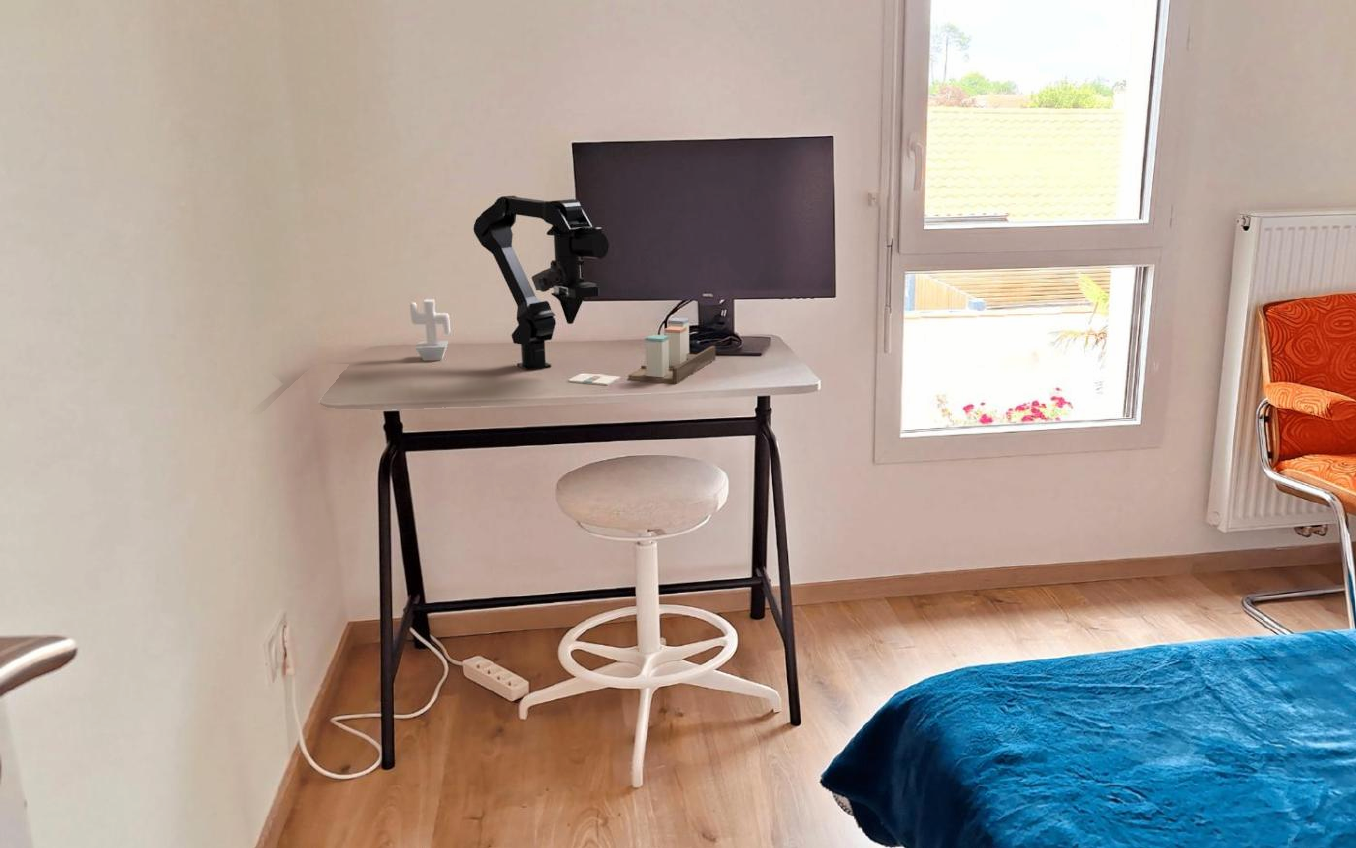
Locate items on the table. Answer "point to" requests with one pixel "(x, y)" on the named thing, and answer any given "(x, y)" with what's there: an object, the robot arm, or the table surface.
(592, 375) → the pattern card
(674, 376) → the brown divided rack
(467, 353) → the table surface
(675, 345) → the peach block
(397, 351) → the table surface
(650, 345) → the white tall block
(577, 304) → the robot arm
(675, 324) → the grey topped white block
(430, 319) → the figurine
